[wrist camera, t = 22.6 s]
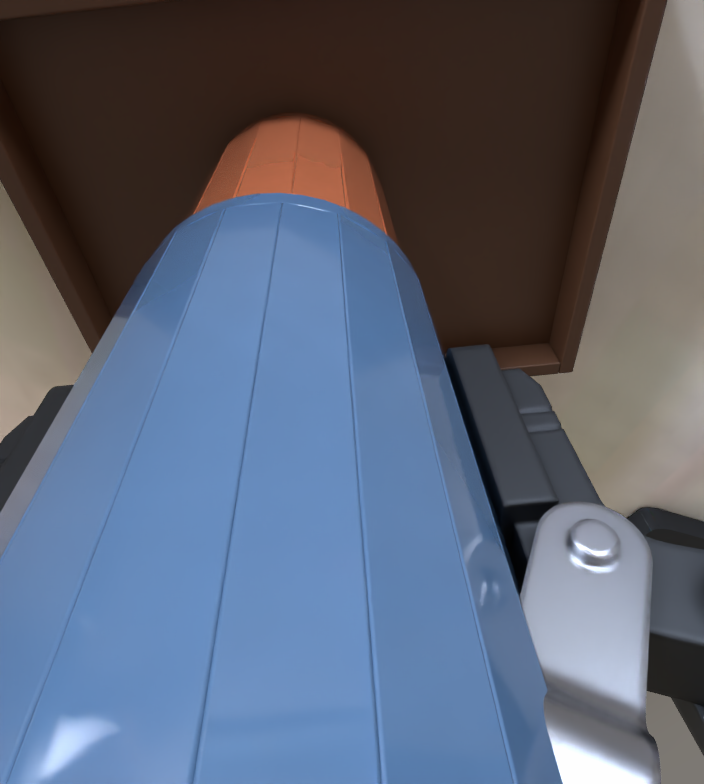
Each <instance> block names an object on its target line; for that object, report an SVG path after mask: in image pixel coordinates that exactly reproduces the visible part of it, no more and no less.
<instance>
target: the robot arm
mask: <svg viewBox="0 0 704 784" xmlns="http://www.w3.org/2000/svg"><path fill="white" fill-rule="evenodd" d="M446 360H447V363H448V366H449V369H450V373H451V376H452V379H453V382H454V385H455V388H456V391H457V394H458V398H459V401H460V404H461V407H462V410H463V413H464V416H465V419H466V423H467V426H468V429H469V432H470V435H471V438H472V441H473V444H474V448H475V451H476V454H477V457H478V460H479V463H480V466H481V469H482V473H483V476H484V479H485V482H486V485H487V488H488V491H489V494H490V497H491V501H492V504H493V507H494V510H495V513H496V516H497V519H498V522H499V526H500V529H501V531H502V534H503V537H504V540H505V543H506V546H507V550H508V553H509V556H510V559H511V562H512V565H513V568H514V571H515V574H516V578H517V581H518V584H519V587H520V590H521V593H520V599H521V602H522V605H523V608H524V611H525V615H526V618H527V621H528V624H529V627H530V630H531V633H532V637H533V640H534V643H535V646H536V649H537V652H538V656H539V659H540V662H541V665H542V668H543V672H544V675H545V678H546V682H547V685H548V690H549V691H547V693H546V695H545V697H544V703H543V707H544V716H545V721H546V726H547V730H548V734H549V737H550V741H551V744H552V748H553V751H554V754H555V758H556V761H557V765H558V768H559V771H560V775H561V778H562V781H563V784H661V769H660V758H659V752H658V747H657V744H656V741H655V739H654V738H653V737H652V736H651V735H650V734H649V732H648V730H647V726H646V691H650V692H654V693H658V694H661V695H665V696H669V697H671V698H672V700H673V702H674V704H675V705H676V707H677V709H678V711H679V713H680V714H681V716H682V718H683V720H684V721H685V723H686V725H687V727H688V729H689V730H690V732H691V734H692V736H693V737H694V739H695V741H696V743H697V745H698V746H699V748H700V750H701V752H702V753H703V755H704V550H702V549H697V548H692V547H686V546H681V545H676V544H671V543H666V542H662V541H658V540H655V539H652V538H649V537H647V536H644V535H642V533H641V532H640V531H639V530H638V529H637V527H636V526H635V525H634V524H633V523H631V522H630V521H629V520H628V519H627V518H625V517H624V516H622V515H621V514H619V513H617V512H616V511H614V510H612V509H609V508H607V507H605V506H604V505H603V503H602V501H601V500H600V498H599V496H598V494H597V493H596V491H595V489H594V487H593V485H592V483H591V481H590V479H589V477H588V475H587V473H586V471H585V470H584V468H583V466H582V464H581V462H580V460H579V458H578V456H577V454H576V452H575V450H574V448H573V447H572V445H571V443H570V441H569V439H568V437H567V435H566V433H565V431H564V429H561V424H560V422H559V420H558V418H557V416H556V414H555V412H554V411H552V406H551V404H550V402H549V401H548V399H547V397H546V395H545V393H544V391H543V389H542V387H541V385H539V384H538V383H537V382H536V381H535V380H533V379H532V378H531V377H530V376H528V375H527V374H526V373H525V372H524V371H522V370H521V369H520V368H519V369H509V370H501V369H500V366H499V364H498V362H497V360H496V357H495V355H494V353H493V351H492V349H491V347H490V345H488V344H484V345H474V346H464V347H454V348H448V350H447V354H446ZM73 386H74V385H66V386H57V387H53V388H52V389H51V390H50V391H49V392H48V393H47V395H46V396H45V398H44V400H43V401H42V403H41V404H40V406H39V408H38V409H37V411H36V412H35V414H34V416H28V417H27V418H26V419H25V420H24V421H23V422H21V423H20V424H19V425H18V426H17V427H16V428H15V429H13V430H12V431H11V432H10V433H9V434H8V435H7V436H5V437H4V439H3V440H2V442H1V443H0V512H1V510H2V509H3V507H4V505H5V503H6V502H7V500H8V498H9V497H10V495H11V493H12V491H13V490H14V488H15V486H16V484H17V483H18V481H19V479H20V478H21V476H22V474H23V472H24V471H25V469H26V467H27V465H28V464H29V462H30V460H31V459H32V457H33V455H34V453H35V452H36V450H37V448H38V446H39V445H40V443H41V441H42V440H43V438H44V436H45V434H46V433H47V431H48V429H49V428H50V426H51V424H52V422H53V421H54V419H55V417H56V415H57V414H58V412H59V410H60V409H61V407H62V405H63V403H64V402H65V400H66V398H67V396H68V395H69V393H70V391H71V390H72V388H73Z"/></svg>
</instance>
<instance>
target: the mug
mask: <svg viewBox="0 0 704 784" xmlns="http://www.w3.org/2000/svg"><path fill="white" fill-rule="evenodd" d="M262 193H287V194H298V195H305V196H309V197H313V198H318V199H322V200H326V201H328V202H331V203H334V204H337V205H339V206H342V207H345V208H347V209H349V210H351V211H353V212H354V213H356V214H358V215H360V216H362V217H364V218H365V219H367V220H368V221H370V222H371V223H372V224H374V225H375V226H377V227H378V228H380V229H381V230H382V231H383V232H384V233H385V234H386V235H387V236H388V237H390V238H391V239H392V240H393V241H394V242H395V243H396V244H397V245H398V241H397V238H396V234H395V230H394V227H393V223H392V220H391V216H390V213H389V209H388V206H387V202H386V199H385V195H384V191H383V188H382V185H381V182H380V180H379V178H378V175H377V173H376V170H375V168H374V165H373V163H372V162H371V160H370V158H369V156H368V154H367V153H366V152H365V150H364V149H363V148H362V146H361V145H360V144H359V143H358V142H357V141H356V140H355V139H354V138H353V137H352V136H351V135H350V134H349V133H348V132H346V131H345V130H344V129H342V128H341V127H339V126H337V125H336V124H334V123H332V122H330V121H328V120H326V119H323V118H321V117H318V116H314V115H310V114H304V113H280V114H274V115H270V116H267V117H264V118H261V119H258V120H256V121H255V122H253V123H251V124H249V125H247V126H246V127H245V128H243V129H242V130H241V131H239V132H238V133H237V134H236V135H235V136H234V137H233V138H232V139H231V140H230V141H229V142H228V144H227V145H226V147H225V148H224V150H223V151H222V153H221V155H220V157H219V158H218V160H217V162H216V163H215V165H214V166H213V168H212V170H211V172H210V174H209V176H208V177H207V179H206V181H205V183H204V185H203V187H202V189H201V191H200V193H199V195H198V197H197V199H196V201H195V203H194V204H193V206H192V208H191V210H190V212H189V214H188V216H187V218H186V219H188V218H189V217H190V216H192V215H193V214H195V213H197V212H199V211H201V210H203V209H205V208H207V207H209V206H211V205H213V204H216V203H219V202H222V201H225V200H228V199H231V198H235V197H241V196H246V195H252V194H262ZM398 247H399V245H398Z"/></svg>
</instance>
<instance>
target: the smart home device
mask: <svg viewBox="0 0 704 784" xmlns="http://www.w3.org/2000/svg"><path fill="white" fill-rule="evenodd" d="M628 520H629V521H630V522H631V523H633V524H634V525H635V526H636V527H637V529H638V530H639V531H640V532H641V533H642V535H644V536H647V537H649V538H652V539H655V540H658V541H662V542H666V543H671V544H676V545H681V546H686V547H692V548H697V549H702V550H704V522H702V521H698V520H695V519H691V518H688V517H684V516H681V515H678V514H674V513H671V512H667V511H664V510H660V509H656V508H642V509H640V510H638V511H637V512H636V513H634V514H633V515H632V516H630V517H629V518H628Z"/></svg>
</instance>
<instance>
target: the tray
mask: <svg viewBox="0 0 704 784" xmlns="http://www.w3.org/2000/svg"><path fill="white" fill-rule="evenodd" d="M666 4H667V0H0V180H1V182H2V184H3V185H4V187H5V189H6V191H7V193H8V195H9V197H10V199H11V201H12V202H13V204H14V206H15V208H16V210H17V212H18V214H19V216H20V218H21V220H22V221H23V223H24V225H25V227H26V229H27V231H28V233H29V235H30V237H31V238H32V240H33V242H34V244H35V246H36V248H37V250H38V252H39V254H40V256H41V257H42V259H43V261H44V263H45V265H46V267H47V269H48V271H49V273H50V274H51V276H52V278H53V280H54V282H55V284H56V286H57V288H58V290H59V292H60V293H61V295H62V297H63V299H64V301H65V303H66V305H67V307H68V309H69V310H70V312H71V314H72V316H73V318H74V320H75V322H76V324H77V326H78V328H79V329H80V331H81V333H82V335H83V337H84V339H85V341H86V343H87V345H88V346H89V348H90V350H91V352H92V353H93V352H94V350H95V348H96V346H97V345H98V343H99V341H100V340H101V338H102V336H103V334H104V333H105V331H106V329H107V327H108V326H109V324H110V322H111V321H112V319H113V317H114V315H115V314H116V312H117V310H118V308H119V307H120V305H121V303H122V302H123V300H124V298H125V296H126V295H127V293H128V291H129V290H130V288H131V286H132V284H133V283H134V281H135V279H136V277H137V276H138V274H139V272H140V271H141V269H142V267H143V266H144V264H145V263H146V262H147V261H148V260H149V259H150V257H151V256H152V254H153V253H154V251H155V250H156V248H157V247H158V246H159V244H160V243H161V242H162V240H163V239H164V238H165V237H166V236H167V235H168V234H169V233H170V232H171V231H172V230H173V229H174V228H175V227H176V226H178V225H179V224H180V223H182V222H183V221H185V220H186V218H187V216H188V214H189V212H190V210H191V208H192V206H193V204H194V203H195V201H196V199H197V197H198V195H199V193H200V191H201V189H202V187H203V185H204V183H205V181H206V179H207V177H208V176H209V174H210V172H211V170H212V168H213V166H214V165H215V163H216V162H217V160H218V158H219V157H220V155H221V153H222V151H223V150H224V148H225V147H226V145H227V144H228V142H229V141H230V140H231V139H232V138H233V137H234V136H235V135H236V134H237V133H238V132H239V131H241V130H242V129H243V128H245V127H246V126H247V125H249V124H251V123H253V122H255V121H256V120H258V119H261V118H264V117H267V116H270V115H274V114H280V113H304V114H310V115H314V116H318V117H321V118H323V119H326V120H328V121H330V122H332V123H334V124H336V125H337V126H339V127H341V128H342V129H344V130H345V131H346V132H348V133H349V134H350V135H351V136H352V137H353V138H354V139H355V140H356V141H357V142H358V143H359V144H360V145H361V146H362V148H363V149H364V150H365V152H366V153H367V154H368V156H369V158H370V160H371V162H372V163H373V165H374V168H375V170H376V173H377V175H378V178H379V180H380V182H381V185H382V188H383V191H384V195H385V199H386V202H387V206H388V209H389V213H390V216H391V220H392V223H393V227H394V230H395V234H396V238H397V241H398V245H399V248H400V249H401V250H402V252H403V253H404V254H405V255H406V257H407V258H408V259H409V261H410V263H411V265H412V266H413V268H414V270H415V272H416V273H417V275H418V278H419V280H420V283H421V285H422V288H423V290H424V293H425V297H426V300H427V303H428V305H429V308H430V311H431V313H432V316H433V319H434V322H435V325H436V328H437V331H438V335H439V338H440V341H441V344H442V347H443V350H444V353H445V356H446V354H447V350H448V348H454V347H464V346H474V345H484V344H488V345H490V347H491V349H492V351H493V353H494V355H495V357H496V360H497V362H498V364H499V366H500V369H501V370H509V369H519V368H520V369H521V370H522V371H524V372H525V373H526V374H527V375H528V376H537V375H547V374H557V373H558V372H559V373H567V372H572V371H573V368H574V364H575V360H576V356H577V352H578V348H579V344H580V340H581V336H582V332H583V328H584V324H585V321H586V317H587V313H588V309H589V305H590V301H591V297H592V293H593V289H594V285H595V281H596V278H597V274H598V270H599V266H600V262H601V258H602V254H603V250H604V246H605V242H606V238H607V234H608V231H609V227H610V223H611V219H612V215H613V211H614V207H615V203H616V199H617V195H618V191H619V188H620V184H621V180H622V176H623V172H624V168H625V164H626V160H627V156H628V152H629V148H630V144H631V141H632V137H633V133H634V129H635V125H636V121H637V117H638V113H639V109H640V105H641V101H642V97H643V94H644V90H645V86H646V82H647V78H648V74H649V70H650V66H651V62H652V58H653V54H654V51H655V47H656V43H657V39H658V35H659V31H660V27H661V23H662V19H663V15H664V11H665V7H666Z"/></svg>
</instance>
